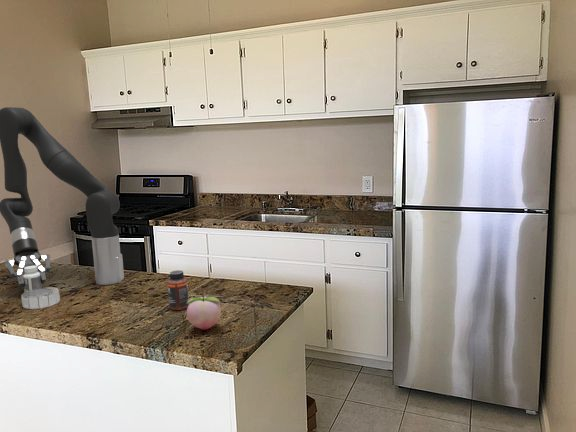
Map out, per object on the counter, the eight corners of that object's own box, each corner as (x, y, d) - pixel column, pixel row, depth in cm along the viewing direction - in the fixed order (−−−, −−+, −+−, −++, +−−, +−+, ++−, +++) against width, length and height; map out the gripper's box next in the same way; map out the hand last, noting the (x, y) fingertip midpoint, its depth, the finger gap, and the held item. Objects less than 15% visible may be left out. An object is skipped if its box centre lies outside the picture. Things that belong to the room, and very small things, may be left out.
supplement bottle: (192, 305, 144) (190, 270, 142) (182, 312, 138) (180, 275, 136) (176, 303, 145) (173, 268, 144) (165, 310, 140) (162, 274, 138)
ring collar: (64, 296, 154) (63, 286, 154) (52, 307, 144) (50, 297, 144) (31, 298, 153) (30, 288, 153) (16, 309, 143) (15, 299, 142)
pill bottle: (43, 291, 160) (40, 264, 159) (41, 296, 155) (38, 268, 154) (26, 293, 158) (23, 266, 157) (23, 298, 154) (19, 270, 152)
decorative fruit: (222, 322, 130) (221, 287, 128) (222, 334, 122) (220, 297, 120) (188, 324, 128) (186, 290, 127) (185, 336, 120) (183, 300, 119)
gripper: (0, 240, 156) (8, 282, 148) (47, 234, 164) (57, 274, 156) (0, 252, 161) (8, 294, 153) (46, 246, 169) (56, 285, 161)
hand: (33, 284), depth 155 cm, fingers closed on pill bottle, 5 cm apart
